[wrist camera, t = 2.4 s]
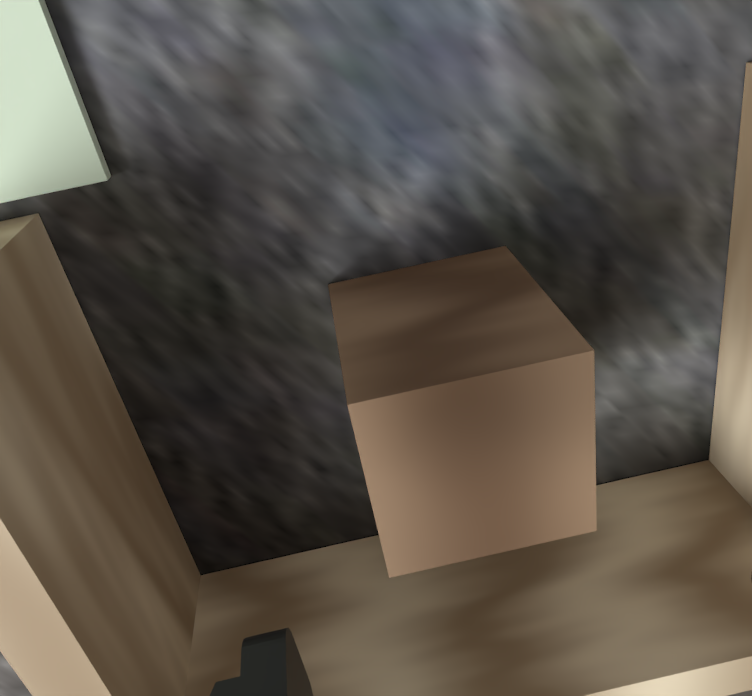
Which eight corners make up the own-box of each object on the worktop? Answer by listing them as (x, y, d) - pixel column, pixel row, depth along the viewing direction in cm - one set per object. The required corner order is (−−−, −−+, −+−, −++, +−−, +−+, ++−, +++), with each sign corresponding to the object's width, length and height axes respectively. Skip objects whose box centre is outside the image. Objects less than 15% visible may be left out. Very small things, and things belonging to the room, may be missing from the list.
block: (505, 245, 18) (594, 350, 13) (517, 393, 21) (596, 530, 16) (328, 283, 18) (347, 404, 13) (361, 427, 21) (389, 578, 16)
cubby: (803, 50, 17) (1102, 90, 11) (745, 482, 24) (904, 653, 18) (-23, 226, 16) (-203, 372, 10) (171, 613, 23) (134, 836, 17)
